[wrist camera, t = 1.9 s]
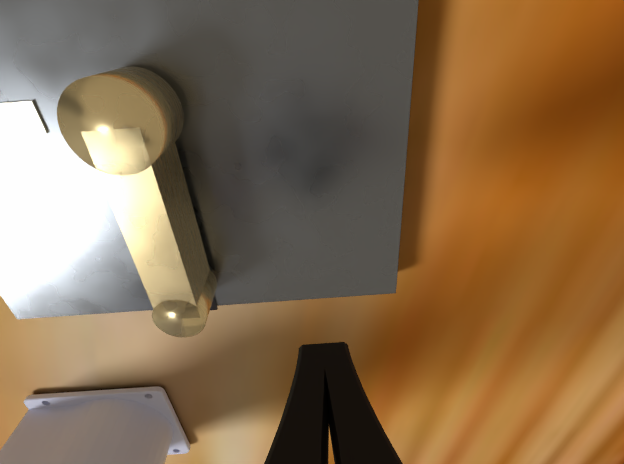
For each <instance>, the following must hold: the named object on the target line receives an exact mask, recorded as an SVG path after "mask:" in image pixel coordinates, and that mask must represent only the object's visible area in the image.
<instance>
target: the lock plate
mask: <svg viewBox="0 0 624 464" xmlns="http://www.w3.org/2000/svg"><path fill="white" fill-rule="evenodd" d="M418 1H419V0H0V295H1V297H2V298H3V299H4V301H5V302H6V304H7V305H8V307H9V308H10V309H11V311H12V312H13V314H14V315H15V317H16V318H17V319H28V318H42V317H57V316H71V315H86V314H100V313H115V312H129V311H144V310H154V309H153V307H152V305H151V302H150V300H149V297H148V295H147V292H146V290H145V287H144V285H143V283H142V280H141V278H140V275H139V273H138V270H137V268H136V265H135V263H134V261H133V258H132V256H131V253H130V251H129V248H128V246H127V243H126V241H125V239H124V236H123V234H122V231H121V229H120V226H119V224H118V221H117V219H116V217H115V214H114V212H113V209H112V207H111V204H110V202H109V199H108V197H107V195H106V192H105V190H104V187H103V185H102V182H101V180H100V177H99V175H98V172H97V170H96V169H95V168H93V167H92V166H90V165H88V164H87V163H85V162H84V161H83V160H82V159H80V158H79V157H78V156H77V155H76V154H75V153H74V152H73V151H72V149H71V148H70V147H69V146H68V144H67V143H66V141H65V139H64V137H63V135H62V133H61V131H60V128H59V125H58V120H57V105H58V101H59V98H60V96H61V94H62V92H63V91H64V89H65V88H66V87H67V86H68V85H70V84H71V83H72V82H74V81H76V80H78V79H81V78H84V77H88V76H92V75H96V74H99V73H103V72H107V71H111V70H115V69H119V68H123V67H140V68H144V69H147V70H149V71H152V72H154V73H155V74H157V75H159V76H160V77H161V78H163V79H164V80H165V81H166V82H167V83H168V84H169V85H170V86H171V87H172V88H173V90H174V91H175V93H176V94H177V96H178V98H179V100H180V102H181V105H182V108H183V113H184V125H183V129H182V132H181V134H180V136H179V138H178V139H177V140H176V142H175V143H176V147H177V151H178V154H179V158H180V162H181V165H182V169H183V173H184V176H185V180H186V184H187V187H188V191H189V195H190V198H191V202H192V206H193V209H194V213H195V217H196V220H197V224H198V228H199V231H200V235H201V239H202V242H203V246H204V250H205V253H206V257H207V261H208V264H209V268H210V270H211V271H212V272H213V273H214V275H215V276H216V279H217V288H216V291H215V295H214V298H213V301H212V304H211V307H210V310H217V309H218V308H217V305H231V304H245V303H260V302H274V301H289V300H303V299H318V298H332V297H347V296H361V295H376V294H390V293H396V284H397V271H398V258H399V245H400V233H401V220H402V207H403V194H404V181H405V168H406V155H407V142H408V130H409V117H410V104H411V91H412V78H413V65H414V52H415V39H416V27H417V14H418Z"/></svg>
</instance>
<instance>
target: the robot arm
mask: <svg viewBox="0 0 624 464" xmlns="http://www.w3.org/2000/svg"><path fill="white" fill-rule="evenodd" d="M24 404H25V405H26V407H27V408H28V409H29V410H28V412H27V413H26V414H25V416H24V417H23V419H22V420H21V422H20V423H19V424H18V426H17V427H16V429H15V430H14V432H13V433H12V434H11V436H10V437H9V439H8V440H7V442H6V443H5V444H4V446H3V447H2V449H1V450H0V464H164V463H165V460H166V457H167V455H169V454H184V453H187V452H189V450H190V444H189V442H188V440H187V437H186V435H185V433H184V431H183V429H182V427H181V424H180V422H179V420H178V418H177V416H176V414H175V411H174V409H173V407H172V405H171V403H170V401H169V398H168V396H167V394H166V392H165V390H164V389H163V388H162V387H158V386H155V387H140V388H125V389H110V390H95V391H80V392H65V393H50V394H35V395H29V396H27V397H26V399H25V400H24ZM329 428H330V435H331V441H332V448H333V455H334V461H335V464H403V463H402V462H401V460H400V458H399V457H398V455H397V453H396V451H395V450H394V448H393V446H392V444H391V443H390V441H389V439H388V437H387V435H386V434H385V432H384V430H383V428H382V426H381V424H380V422H379V420H378V418H377V416H376V414H375V412H374V410H373V408H372V406H371V404H370V402H369V400H368V398H367V396H366V394H365V391H364V389H363V387H362V385H361V382H360V380H359V377H358V375H357V373H356V370H355V367H354V365H353V362H352V359H351V356H350V352H349V349H348V345H347V344H346V343H344V342H339V343H324V344H309V345H302V346H301V347H300V348H299V354H298V360H297V366H296V370H295V375H294V379H293V382H292V386H291V390H290V393H289V396H288V400H287V403H286V406H285V409H284V412H283V415H282V418H281V421H280V424H279V427H278V430H277V432H276V435H275V437H274V440H273V443H272V445H271V448H270V451H269V453H268V456H267V458H266V461H265V463H264V464H328V441H329Z"/></svg>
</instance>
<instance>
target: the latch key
mask: <svg viewBox="0 0 624 464" xmlns="http://www.w3.org/2000/svg"><path fill="white" fill-rule="evenodd" d="M57 120H58V125H59V128H60V131H61V133H62V135H63V137H64V139H65V141H66V143H67V144H68V146H69V147H70V148H71V149H72V151H73V152H74V153H75V154H76V155H77V156H78V157H79V158H80V159H82V160H83V161H84V162H85V163H87V164H88V165H90V166H92V167H93V168H95V169H96V170H97V172H98V175H99V177H100V180H101V182H102V185H103V187H104V190H105V192H106V195H107V197H108V199H109V202H110V204H111V207H112V209H113V212H114V214H115V217H116V219H117V221H118V224H119V226H120V229H121V231H122V234H123V236H124V239H125V241H126V243H127V246H128V248H129V251H130V253H131V256H132V258H133V261H134V263H135V265H136V268H137V270H138V273H139V275H140V278H141V280H142V283H143V285H144V287H145V290H146V292H147V295H148V297H149V300H150V302H151V305H152V307H153V309H154V310H153V313H152V318H153V321H154V323H155V325H156V326H157V327H158V328H159V329H160V330H162V331H163V332H165V333H167V334H169V335H172V336H176V337H190V336H194V335H196V334H198V333H199V332H201V331H202V330H203V328H204V326H205V323H206V320H207V317H208V314H209V311H210V307H211V304H212V301H213V298H214V295H215V291H216V288H217V279H216V276H215V275H214V273H213V272H212V271H211V270H210V268H209V264H208V261H207V257H206V253H205V250H204V246H203V242H202V239H201V235H200V231H199V228H198V224H197V220H196V217H195V213H194V209H193V206H192V202H191V198H190V195H189V191H188V187H187V184H186V180H185V176H184V173H183V169H182V165H181V162H180V158H179V154H178V151H177V147H176V143H175V142H176V140H177V139H178V138H179V136H180V134H181V132H182V129H183V125H184V113H183V108H182V105H181V102H180V100H179V98H178V96H177V94H176V93H175V91H174V90H173V88H172V87H171V86H170V85H169V84H168V83H167V82H166V81H165V80H164V79H163V78H161V77H160V76H159V75H157V74H155V73H154V72H152V71H149V70H147V69H144V68H140V67H123V68H119V69H115V70H111V71H107V72H103V73H99V74H96V75H92V76H88V77H84V78H81V79H78V80H76V81H74V82H72V83H71V84H70V85H68V86H67V87H66V88H65V89H64V91H63V92H62V94H61V96H60V98H59V101H58V105H57Z"/></svg>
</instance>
